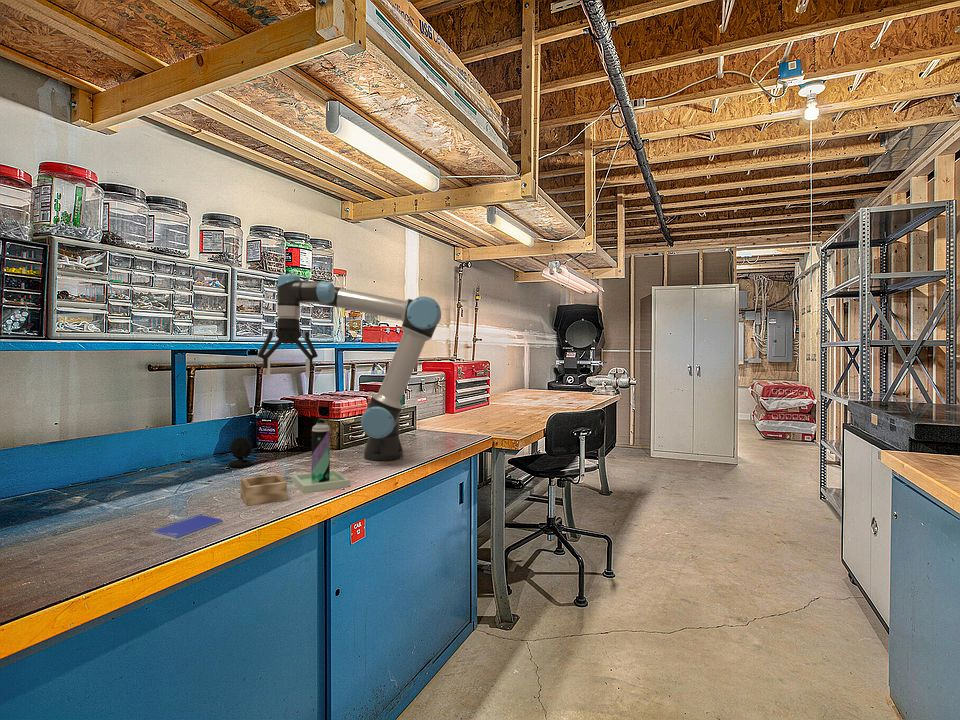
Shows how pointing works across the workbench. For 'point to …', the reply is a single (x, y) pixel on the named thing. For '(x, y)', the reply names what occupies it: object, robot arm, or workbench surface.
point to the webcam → (241, 452)
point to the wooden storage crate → (263, 489)
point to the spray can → (320, 453)
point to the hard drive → (186, 527)
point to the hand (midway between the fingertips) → (288, 377)
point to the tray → (334, 482)
